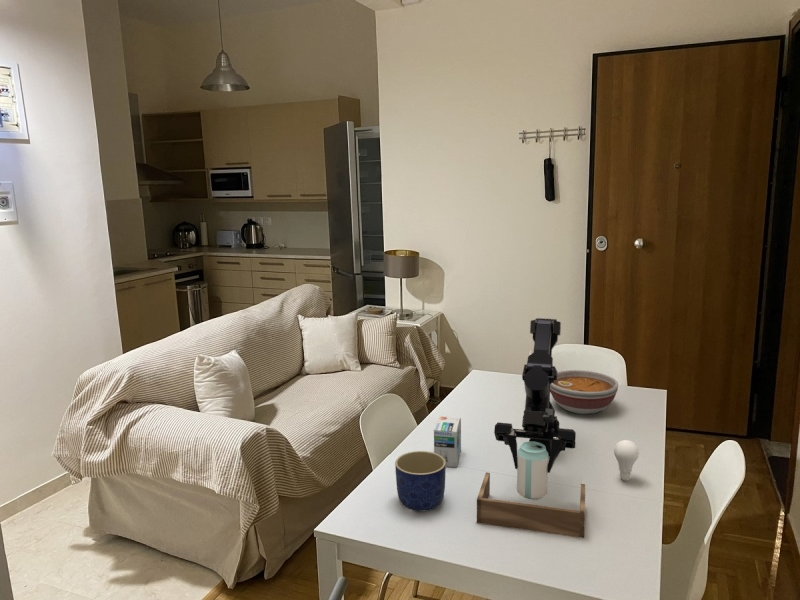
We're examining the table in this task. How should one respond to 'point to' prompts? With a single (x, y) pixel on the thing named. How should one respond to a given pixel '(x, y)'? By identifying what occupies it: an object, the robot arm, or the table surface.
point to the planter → (420, 480)
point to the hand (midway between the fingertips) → (532, 470)
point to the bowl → (583, 391)
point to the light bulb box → (448, 439)
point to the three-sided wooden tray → (530, 514)
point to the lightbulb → (626, 457)
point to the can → (532, 470)
